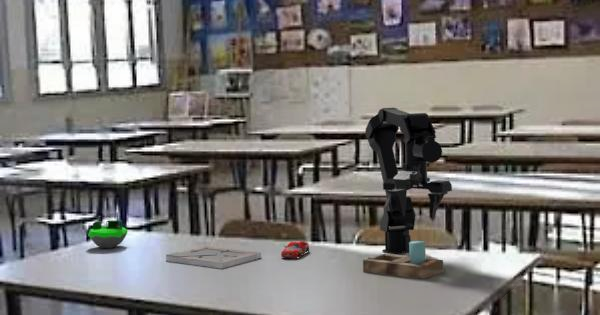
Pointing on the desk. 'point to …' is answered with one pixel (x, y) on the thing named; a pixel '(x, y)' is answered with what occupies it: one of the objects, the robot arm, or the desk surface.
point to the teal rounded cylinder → (417, 252)
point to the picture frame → (213, 257)
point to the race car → (295, 249)
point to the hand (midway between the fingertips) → (417, 216)
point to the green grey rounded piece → (108, 233)
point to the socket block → (402, 266)
